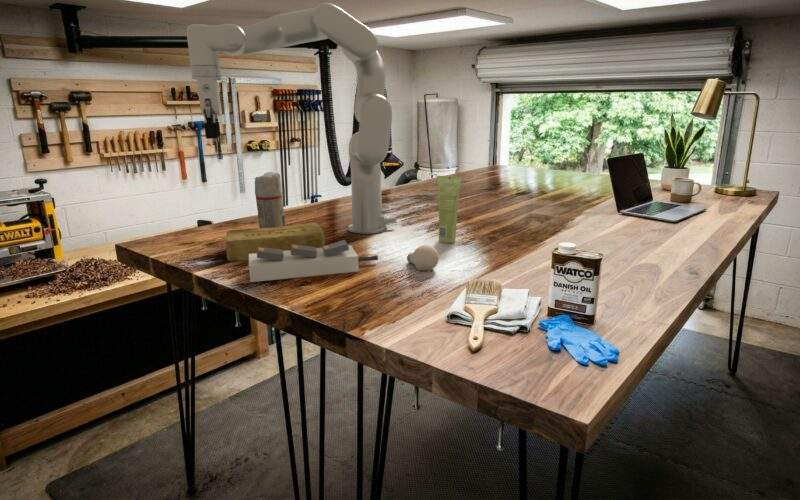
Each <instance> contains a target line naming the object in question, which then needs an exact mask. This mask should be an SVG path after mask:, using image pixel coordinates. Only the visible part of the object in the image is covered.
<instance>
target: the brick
mask: <svg viewBox="0 0 800 500" xmlns="http://www.w3.org/2000/svg"><path fill="white" fill-rule="evenodd" d="M291 244H293V245H302V246H311V247H315V248H322V246H325V245H326V238H325V233H324V230H323V229H322V227H321V226H320V225H319V224H318V223H317V222H311V223H309V222H308V223H297V224H292V225H291V224H290V225H285V226H282V227H274V228H260V227H259V228H243V229H242V228H241V229H231V230H227V231H226V239H225V245H226V249H225V250H226V259H227V261H228V262H229V263H235V262H236V263H237V262H241V263H242V262H249V254H254V253H257V247H262V248H271V249H280V250H283V251H289V250H290V248H291Z"/></svg>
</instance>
